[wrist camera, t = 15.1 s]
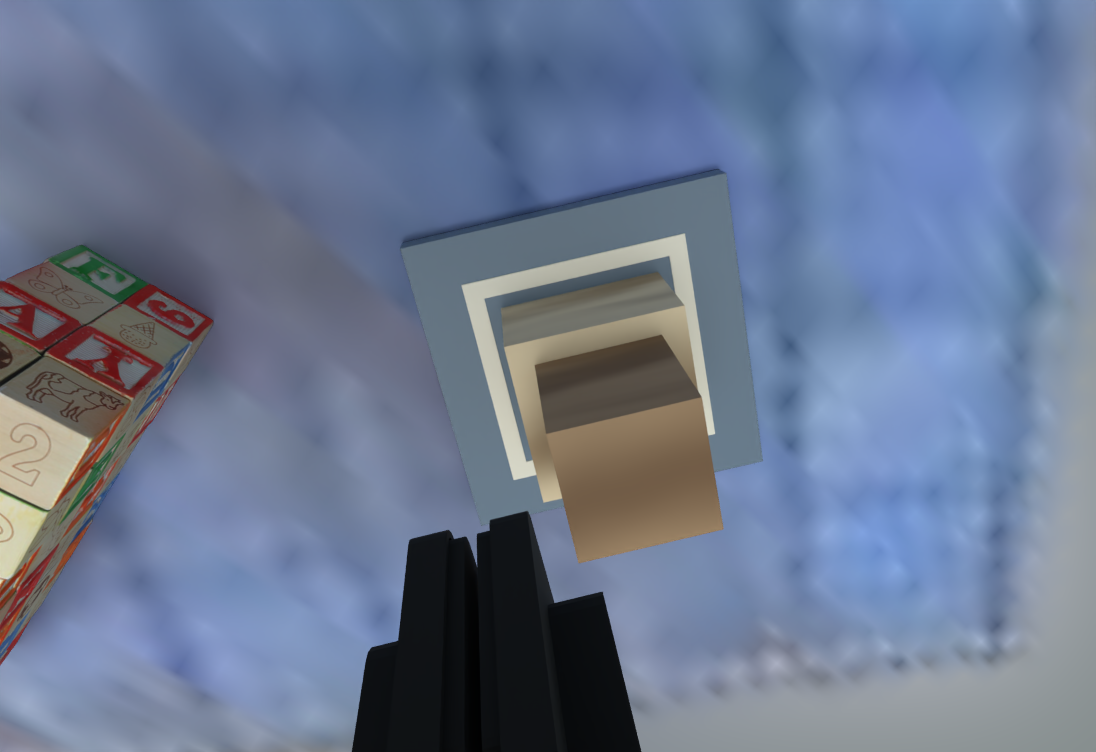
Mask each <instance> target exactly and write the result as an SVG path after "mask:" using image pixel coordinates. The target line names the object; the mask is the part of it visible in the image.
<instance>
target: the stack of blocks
mask: <svg viewBox="0 0 1096 752" xmlns="http://www.w3.org/2000/svg"><path fill="white" fill-rule="evenodd" d="M212 325H213V320H212V319H210V318H208V317H207V316H205V315H203V314H201V313H200V312H198V311H196V310H195V309H193V308H191V307H189V306H188V305H186V304H184V303H183V302H181V301H179V300H178V299H176V298H174V297H172V296H170V295H169V294H167V293H165V292H164V291H162V290H160V289H158V288H157V287H155V286H153V285H151V284H148V283H146V282H144V281H143V280H141V279H139V278H138V277H136V276H134V275H132V274H131V273H129V272H127V271H126V270H124V269H122V268H121V267H119V266H117V265H116V264H114V263H112V262H110V261H109V260H107V259H105V258H104V257H102V256H100V255H99V254H97V253H95V252H93V251H92V250H90V249H89V248H87V247H85V246H83V245H79V246H77V247H74V248H72V249H70V250H67V251H64V252H62V253H59V254H57V255H55V256H53V257H50V258H48V259H46V260H45V261H44V262H43V263H42V264H40V265H37V266H35V267H32V268H30V269H28V270H25V271H23V272H20V273H18V274H16V275H14V276H12V277H10V278H8V279H6V280H5V281H0V665H1V664H2V662H3V661H4V660H5V658H6V657H7V655H8V654H9V653H10V651H11V650H12V649H13V647H14V646H15V645H16V643H17V642H18V640H19V638H20V636H21V635H22V633H23V631H24V629H25V628H26V626H27V624H28V623H29V621H30V619H31V617H32V616H33V615H34V613H35V612H36V611H37V609H38V608H39V607H40V606H41V604H42V603H43V601H44V599H45V598H46V596H47V594H48V593H49V591H50V589H51V588H52V586H53V584H54V583H55V581H56V580H57V578H58V576H59V575H60V573H61V571H62V570H63V568H64V566H65V564H66V562H67V561H68V560H69V558H70V557H71V555H72V554H73V552H74V550H75V549H76V547H77V545H78V544H79V542H80V540H81V539H82V537H83V535H84V534H85V532H86V530H87V529H88V527H89V525H90V524H91V522H92V521H93V518H92V517H93V515H94V514H95V512H96V511H97V509H98V508H99V506H100V504H101V503H102V501H103V499H104V498H105V496H106V494H107V493H108V491H109V490H110V488H111V486H112V485H113V483H114V481H115V480H116V478H117V476H118V475H119V472H120V470H121V469H122V467H123V466H124V464H125V462H126V461H127V459H128V458H129V456H130V454H131V453H132V451H133V449H134V448H135V446H136V444H137V443H138V441H139V439H140V438H141V436H142V434H143V433H144V431H145V429H146V428H147V426H148V425H149V424H150V423H151V422H152V421H153V419H154V418H155V416H156V414H157V413H158V411H159V410H160V408H161V406H162V405H163V403H164V401H165V400H166V398H167V397H168V395H169V393H170V392H171V390H172V389H173V387H174V385H175V384H176V382H177V380H178V379H179V377H180V375H181V374H182V373H183V371H184V370H185V369H186V367H187V366H188V364H189V362H190V361H191V359H192V357H193V356H194V354H195V353H196V351H197V349H198V348H199V346H200V345H201V343H202V341H203V340H204V338H205V336H206V335H207V333H208V332H209V330H210V328H211V327H212Z"/></svg>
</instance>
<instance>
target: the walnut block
mask: <svg viewBox="0 0 1096 752" xmlns="http://www.w3.org/2000/svg"><path fill="white" fill-rule="evenodd" d="M535 371H536V377H537V383H538V389H539V395H540V401H541V407H542V413H543V419H544V424H545V430H546V436H547V440H548V443H549V447H550V451H551V455H552V459H553V463H554V467H555V471H556V475H557V479H558V483H559V487H560V491H561V495H562V499H563V503H564V507H565V511H566V515H567V519H568V523H569V527H570V531H571V535H572V539H573V543H574V547H575V550H576V554H577V558H578V562H579V563H582V562H586V561H591V560H595V559H599V558H603V557H608V556H612V555H616V554H621V553H625V552H629V551H633V550H638V549H642V548H646V547H650V546H655V545H659V544H663V543H667V542H672V541H676V540H680V539H684V538H689V537H693V536H697V535H701V534H706V533H710V532H714V531H718V530H723V523H722V517H721V511H720V505H719V499H718V493H717V487H716V480H715V474H714V468H713V462H712V456H711V450H710V444H709V438H708V432H707V426H706V419H705V413H704V407H703V401H702V397H701V395H700V394H699V392H698V390H697V389H696V387H695V386H694V384H693V383H692V381H691V379H690V378H689V376H688V375H687V373H686V372H685V370H684V368H683V367H682V365H681V364H680V362H679V361H678V359H677V358H676V356H675V354H674V353H673V351H672V350H671V348H670V347H669V345H668V343H667V342H666V340H665V339H664V337H663V336H662V335H658V336H654V337H650V338H646V339H642V340H637V341H633V342H629V343H625V344H621V345H616V346H612V347H608V348H604V349H600V350H595V351H591V352H587V353H583V354H579V355H574V356H570V357H566V358H562V359H558V360H553V361H549V362H545V363H541V364H537V365H535Z"/></svg>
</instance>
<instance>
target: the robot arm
mask: <svg viewBox="0 0 1096 752" xmlns="http://www.w3.org/2000/svg"><path fill="white" fill-rule="evenodd" d="M352 752H641V748H640V744H639V740H638V736H637V732H636V728H635V723H634V719H633V715H632V711H631V707H630V703H629V699H628V694H627V690H626V686H625V682H624V678H623V674H622V670H621V666H620V661H619V657H618V653H617V649H616V645H615V641H614V637H613V633H612V629H611V624H610V620H609V616H608V612H607V608H606V604H605V600H604V596H603V592H599V593H595V594H590V595H586V596H582V597H578V598H574V599H570V600H566V601H562V602H557V603H554V600H553V596H552V593H551V589H550V586H549V582H548V578H547V575H546V571H545V568H544V564H543V560H542V557H541V553H540V550H539V546H538V542H537V539H536V535H535V532H534V528H533V524H532V521H531V518H530V515H529V512H528V511H524V512H520V513H516V514H512V515H508V516H504V517H500V518H495V519H491V520H490V531H486V532H482V533H478V534H477V565H476V562H475V559H474V556H473V553H472V550H471V547H470V544H469V541H468V539H467V537H462V538H457V539H454V538H453V535H452V533H451V532H450V531H449V530H446V531H442V532H438V533H434V534H429V535H425V536H421V537H417V538H413V539H411V540H409V545H408V554H407V563H406V572H405V582H404V591H403V601H402V610H401V619H400V629H399V638H398V641H396V642H392V643H388V644H384V645H380V646H376V647H372V648H371V649H370V650H369V652H368V655H367V659H366V663H365V670H364V676H363V683H362V689H361V696H360V702H359V709H358V715H357V722H356V728H355V735H354V741H353V748H352Z"/></svg>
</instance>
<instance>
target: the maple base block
mask: <svg viewBox="0 0 1096 752" xmlns="http://www.w3.org/2000/svg"><path fill="white" fill-rule="evenodd" d="M501 315H502V328H503V341H504V349H505V353H506V357H507V361H508V365H509V369H510V373H511V377H512V381H513V385H514V389H515V393H516V397H517V400H518V404H519V408H520V412H521V416H522V420H523V424H524V428H525V432H526V436H527V440H528V444H529V448H530V452H531V456H532V459H533V463H534V467H535V471H536V475H537V479H538V483H539V487H540V491H541V495H542V499H543V503H544V502H549V501H553V500H558V499H562V495H561V491H560V487H559V483H558V479H557V475H556V471H555V467H554V463H553V459H552V455H551V451H550V447H549V443H548V440H547V436H546V430H545V424H544V419H543V413H542V407H541V401H540V395H539V389H538V383H537V377H536V371H535V365H537V364H541V363H545V362H549V361H553V360H558V359H562V358H566V357H570V356H574V355H579V354H583V353H587V352H591V351H595V350H600V349H604V348H608V347H612V346H616V345H621V344H625V343H629V342H633V341H637V340H642V339H646V338H650V337H654V336H658V335H662V336H663V337H664V339H665V340H666V342H667V343H668V345H669V347H670V348H671V350H672V351H673V353H674V354H675V356H676V358H677V359H678V361H679V362H680V364H681V365H682V367H683V368H684V370H685V372H686V373H687V375H688V376H689V378H690V379H691V381H692V383H693V384H694V386H695V387H696V389H697V390H698V387H697V380H696V374H695V368H694V361H693V355H692V349H691V342H690V336H689V329H688V323H687V317H686V310H685V305H684V304H683V303H682V301H681V300H680V299H679V298H678V296H677V295H676V294H675V293H674V291H673V290H672V289H671V288H670V286H669V285H668V284H667V283H666V281H665V280H664V279H663V278H662V277H661V275H660V274H659V273H658V272H655V273H651V274H646V275H642V276H638V277H633V278H629V279H625V280H620V281H616V282H612V283H607V284H603V285H599V286H594V287H590V288H586V289H582V290H577V291H573V292H569V293H564V294H560V295H556V296H551V297H547V298H543V299H538V300H534V301H530V302H525V303H521V304H517V305H512V306H508V307H504V308H501Z"/></svg>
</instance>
